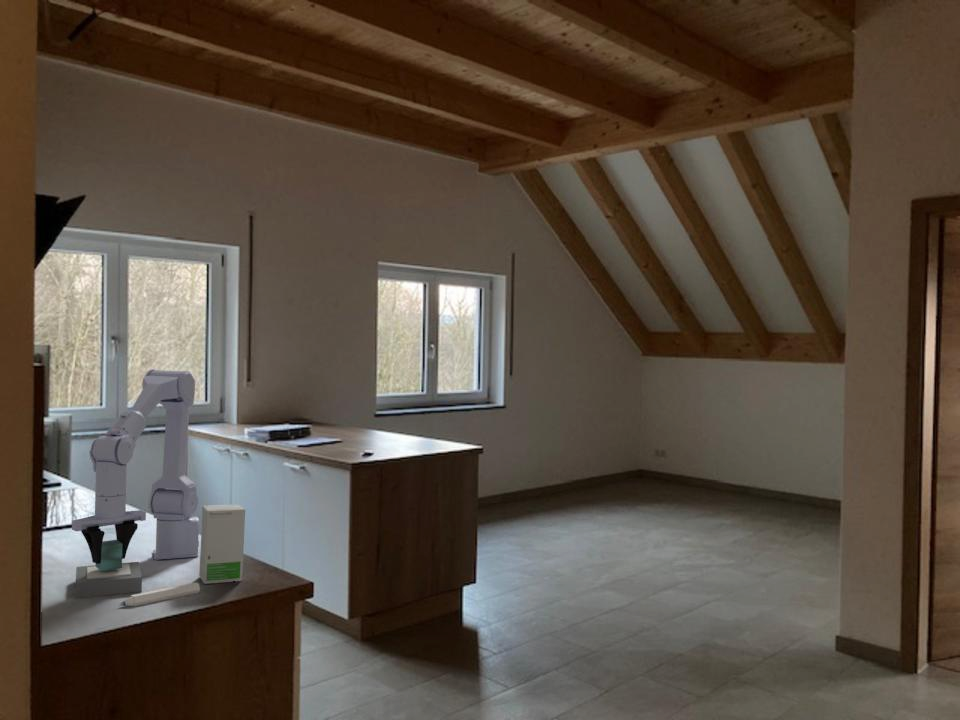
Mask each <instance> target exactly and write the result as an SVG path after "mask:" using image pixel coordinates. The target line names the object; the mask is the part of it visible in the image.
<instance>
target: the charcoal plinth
mask: <svg viewBox="0 0 960 720" xmlns="http://www.w3.org/2000/svg"><path fill="white" fill-rule="evenodd" d="M74 583H75V585H74V586H75V587H74V588H75V591H74V594H75V595H74V599H80V598H92V597H94V598H95V597H103V596H104V597H105V596H112V595H113V594H115V595H121V594H120V593H125V594H133V592H135V593H143V592H142V590H143V575H142V570H141V567H140V562H139V561H135V562H134V561H132V562H130V561H129V562H122V568H118V569H111V570H104V571H100V570H99V569H98V568H97V567H96V564H93V565H83V566H82V565H81V566H76V570H75V581H74Z"/></svg>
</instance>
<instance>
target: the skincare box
mask: <svg viewBox="0 0 960 720" xmlns="http://www.w3.org/2000/svg"><path fill="white" fill-rule="evenodd" d="M201 509H202V511H201V512H202V513H201V515H202V517H201V532H200V533H201V534H200V537H201V538H200V554H199V555H200V557H199V558H200V559H199V571H198V572H199V574H198V576H199V578H200V580H201V581H202V583H203V584H204V585H208V584H218V583H219V584H220V583H221V584H223V583H231V582H232V583H233V581H235V582H242V581H243V566H244V565H243V564H244V547H245V546H244V545H245V527H246V525H245V523H246V522H245V521H246V520H245V519H246V508H244V507H243V506H242V505H241V504H213V505H212V504H209V505H207V504H206V505H205V504H204V505H202V507H201Z"/></svg>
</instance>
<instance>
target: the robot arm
mask: <svg viewBox="0 0 960 720" xmlns="http://www.w3.org/2000/svg"><path fill="white" fill-rule="evenodd" d="M141 383H142V390H141V392H140V394H139V395H138V397H137V399H136V401H135V402H134V404H133V405H132V406H131V408H130V410H129V409H127V410H124V411H122V412H121V413H120V414H119V415H118V417H117V418H116V419H115V421H114V422H113V424H112V425H111V427H110V428H109V429H108V430H107V431H106V433H105V434H104V435H99V436H98V437H97V438H95V439H94V440H93V442H92V444H91V445H90V450H89V458H90V460H91V463H92V470H93V472H94V473H95V487H94V488H95V491H94V492H95V494H94V495H95V496H94V515H89V516H86V517H83V518H78V519H72V521H71V530H72V531H75V532H81V534H82V535H83V538H84V539H85V541H86V544H87V546H88V548H89V552H90V555H91V561H92V563H93V564H95V565H96V564H99V563H101V551H102V542H103V541H104V537H105V533H106V532H105V531H103V530H101V529H102V528H101V527H106V526H107V527H108V526H113V525H114V528H115V529H114V530H115V536H116V540H118V541H119V542H121V543H122V560H125V559H126V555H127V551H128V548H129V545H130V542H131V540H132V539H133V536H134V535H135V533H136V531H137V530H138V523H136V522H138V521H140V522H143V521H147V520H146V519H147V511H146V510H143V509H137V510H126V505H127V504H126V503H127V501H126V500H127V497H126V495H127V470H128V469H127V468H128V467H127V464H129V462H130V461H131V460H132V458H133V455H134V450H135V448H136V445H137V444H136V442H137V441H138V439H139V438H140V436H142V435H141V434H142V433H143V432H144V430H145V429H146V427H147V421H146V418H147V417H149V415H150V414H151V413H152V411H153V410H154V409H155V408H156V407H157V406H158V405H161V406H162V407H163V408H164V409H165V412H166V413H165V427H164V428H165V429H164V441H163V443H164V445H163V461H162V475H161V477H160V478H159V479H157V480H156V481H154V483H153V484H151V491H150V495H149V498H148V509H149V512H150V514H151V515H153V519H156V524H155V525H156V527H155V528H156V530H155V531H156V534H155V549H153V550H152V554H153V557H154V560H157V561H158V560H169V559H170V560H171V559H181V558H182V559H183V558H195V557H196V558H197V557H199V547H200V546H199V544H200V543H199V542H200V541H199V533H200V532H199V531H200V529H199V527H200V526H199V517H198V516H193V515H195V513H196V511H197V509H198V504H199V498H198V494H197V493H198V492H197V484H196V483H195V482H194V481H193V480H191V479H190V478H189V477H188V476H186V474H187V473H186V471H187V457H188V455H187V454H188V453H187V452H188V440H189V439H188V437H189V420H190V419H189V418H190V407H191V406H192V405H194V404H195V391H196V390H195V389H196V379H195V378H194V377H193V375H192V373H191V372H190V371H189V370H183V371H182V370H162V369H161V370H159V369H149V370H148V371H147V372H146V373H145V375H144V377H143V378H142V382H141Z"/></svg>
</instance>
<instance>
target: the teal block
mask: <svg viewBox="0 0 960 720" xmlns="http://www.w3.org/2000/svg"><path fill="white" fill-rule="evenodd" d="M122 563H123V559H122V543H121V542H119V541H118V540H117V539H112V540H103V542H102V551H101V563H99V564H96V563H95V565H96V567H97V568H98V569H99V570H100V571H104V570H111V569H118V568H122Z"/></svg>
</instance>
